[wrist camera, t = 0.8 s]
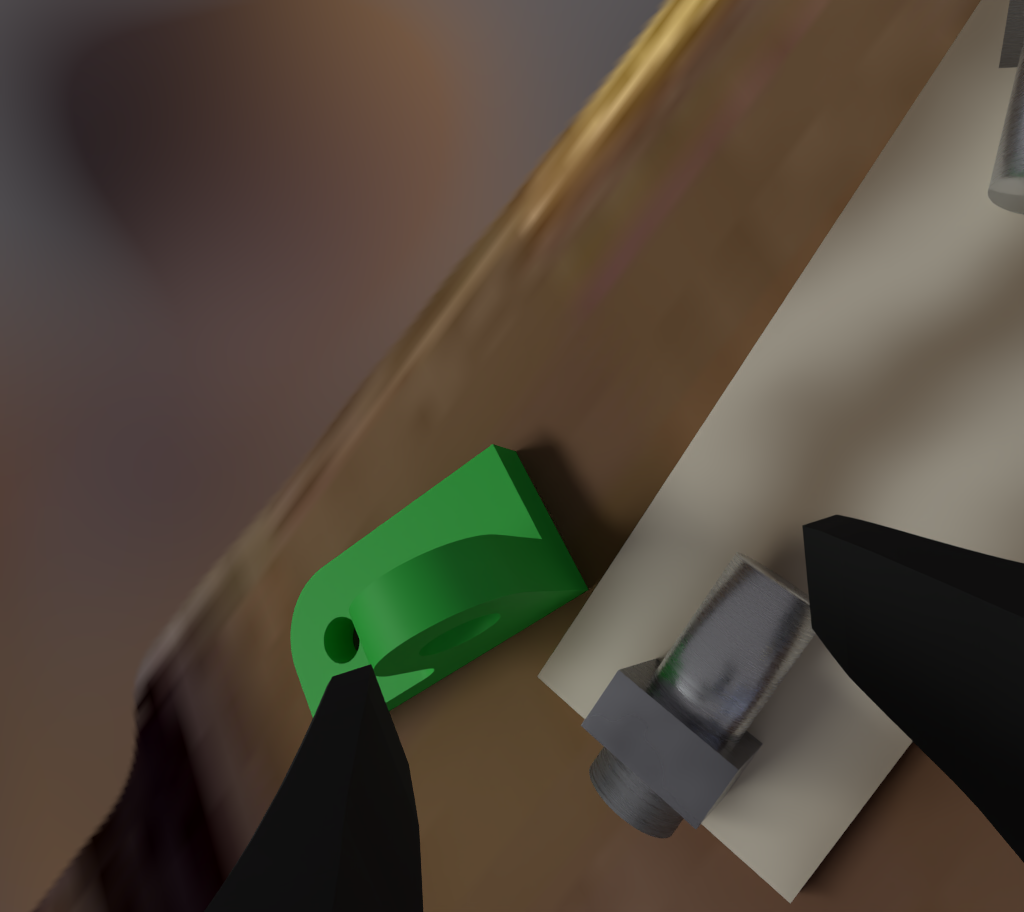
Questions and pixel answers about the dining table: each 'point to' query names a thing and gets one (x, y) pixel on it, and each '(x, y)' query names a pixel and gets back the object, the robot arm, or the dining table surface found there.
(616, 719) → the metal cylinder fitting
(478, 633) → the mechanical part
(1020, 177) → the angled shaft
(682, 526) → the board
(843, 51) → the dining table surface
